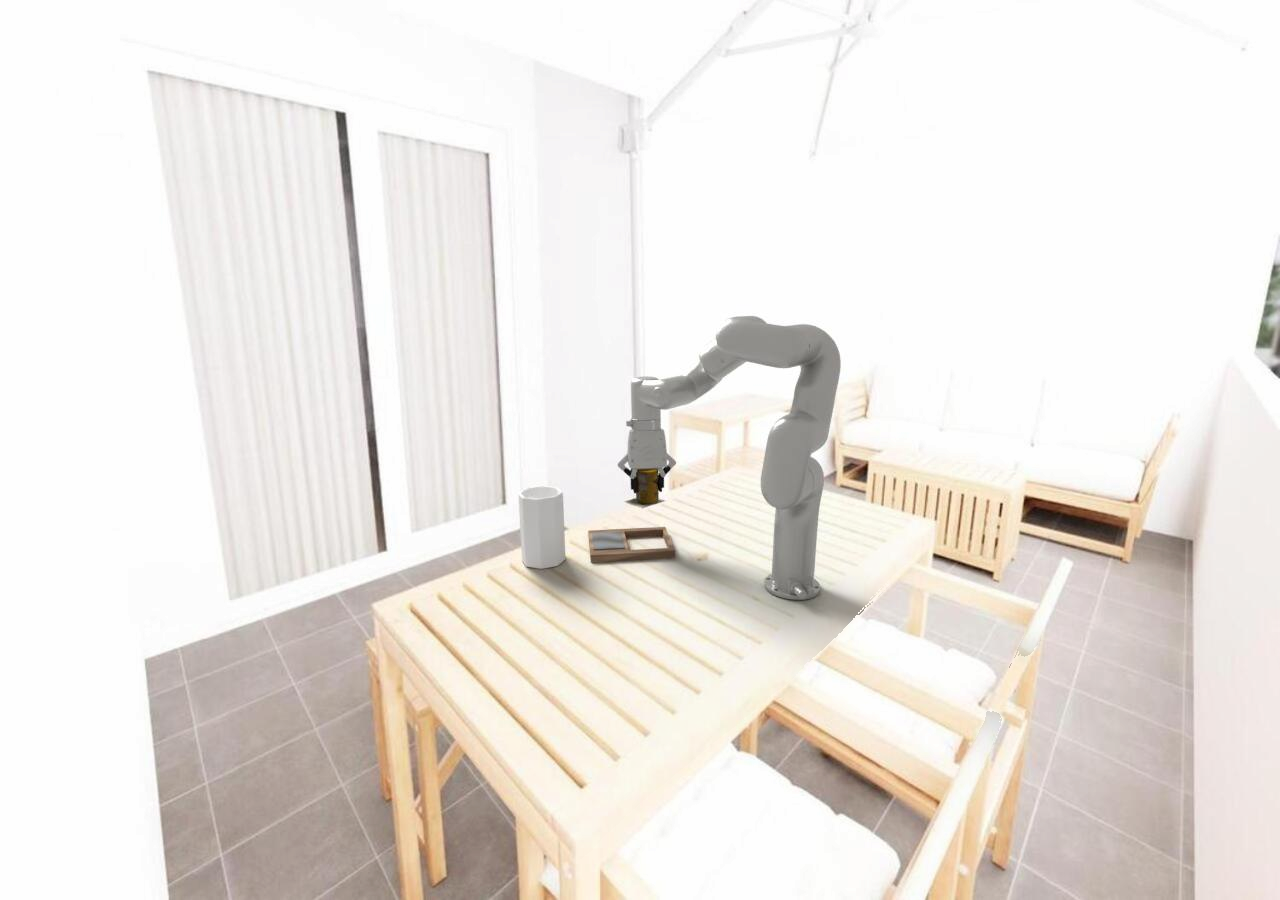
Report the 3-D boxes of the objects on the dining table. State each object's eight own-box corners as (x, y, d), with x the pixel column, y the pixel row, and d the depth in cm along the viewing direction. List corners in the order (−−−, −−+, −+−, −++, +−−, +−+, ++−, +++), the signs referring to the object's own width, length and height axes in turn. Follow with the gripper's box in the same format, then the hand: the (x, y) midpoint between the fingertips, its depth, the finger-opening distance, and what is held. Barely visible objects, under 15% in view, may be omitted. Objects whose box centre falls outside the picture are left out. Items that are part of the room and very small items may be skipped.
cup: (513, 560, 155) (509, 492, 150) (547, 547, 163) (544, 482, 158) (540, 573, 147) (536, 502, 143) (574, 559, 155) (572, 491, 151)
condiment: (665, 501, 160) (664, 457, 157) (642, 509, 155) (641, 464, 152) (646, 495, 165) (645, 453, 162) (623, 502, 160) (622, 459, 157)
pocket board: (675, 557, 156) (675, 549, 155) (590, 562, 153) (590, 554, 153) (665, 533, 172) (665, 525, 172) (588, 537, 170) (588, 529, 169)
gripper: (614, 429, 150) (616, 497, 155) (681, 426, 152) (682, 493, 157) (612, 423, 158) (614, 488, 162) (676, 420, 160) (676, 485, 164)
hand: (647, 490), depth 159 cm, fingers closed on condiment, 6 cm apart
